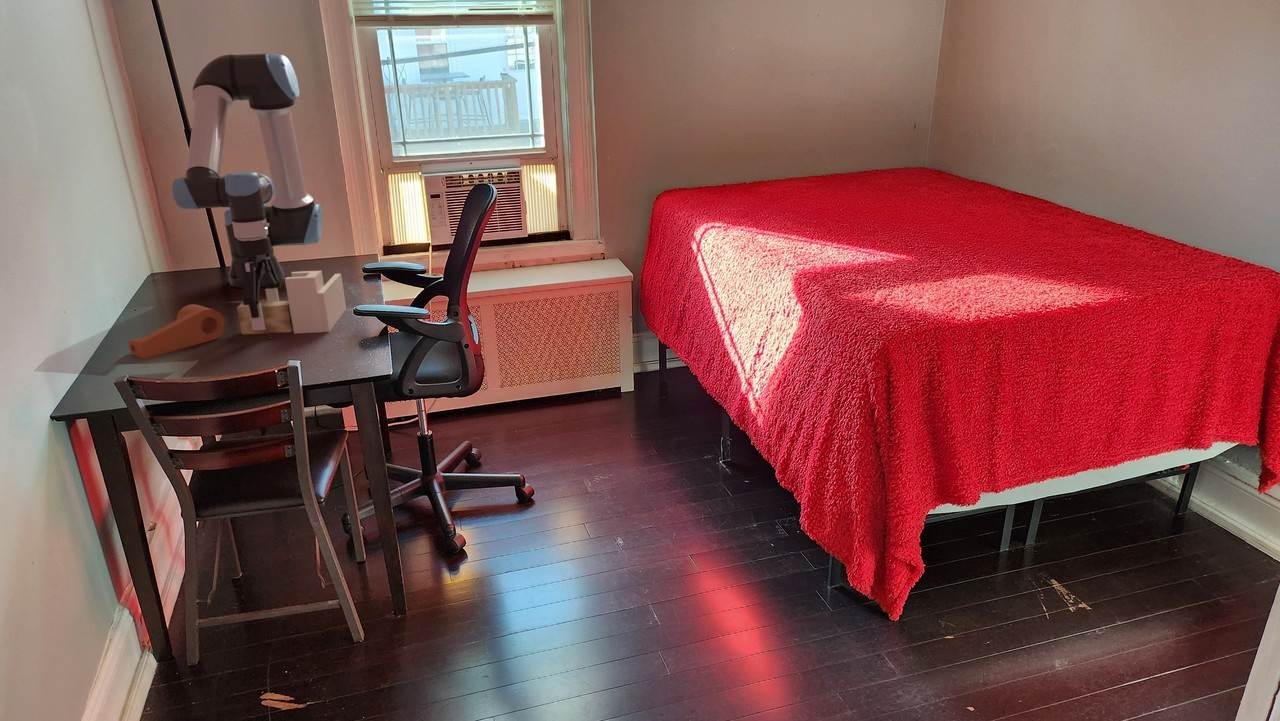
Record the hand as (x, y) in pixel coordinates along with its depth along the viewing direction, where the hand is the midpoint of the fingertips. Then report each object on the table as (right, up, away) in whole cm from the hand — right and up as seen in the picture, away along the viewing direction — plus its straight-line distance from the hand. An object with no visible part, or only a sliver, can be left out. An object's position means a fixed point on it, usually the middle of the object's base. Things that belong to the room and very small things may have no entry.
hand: (267, 321), depth 210 cm
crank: (-18, -6, -8) cm, 20 cm away
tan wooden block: (+2, -2, +1) cm, 3 cm away
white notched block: (+11, 0, +8) cm, 13 cm away
